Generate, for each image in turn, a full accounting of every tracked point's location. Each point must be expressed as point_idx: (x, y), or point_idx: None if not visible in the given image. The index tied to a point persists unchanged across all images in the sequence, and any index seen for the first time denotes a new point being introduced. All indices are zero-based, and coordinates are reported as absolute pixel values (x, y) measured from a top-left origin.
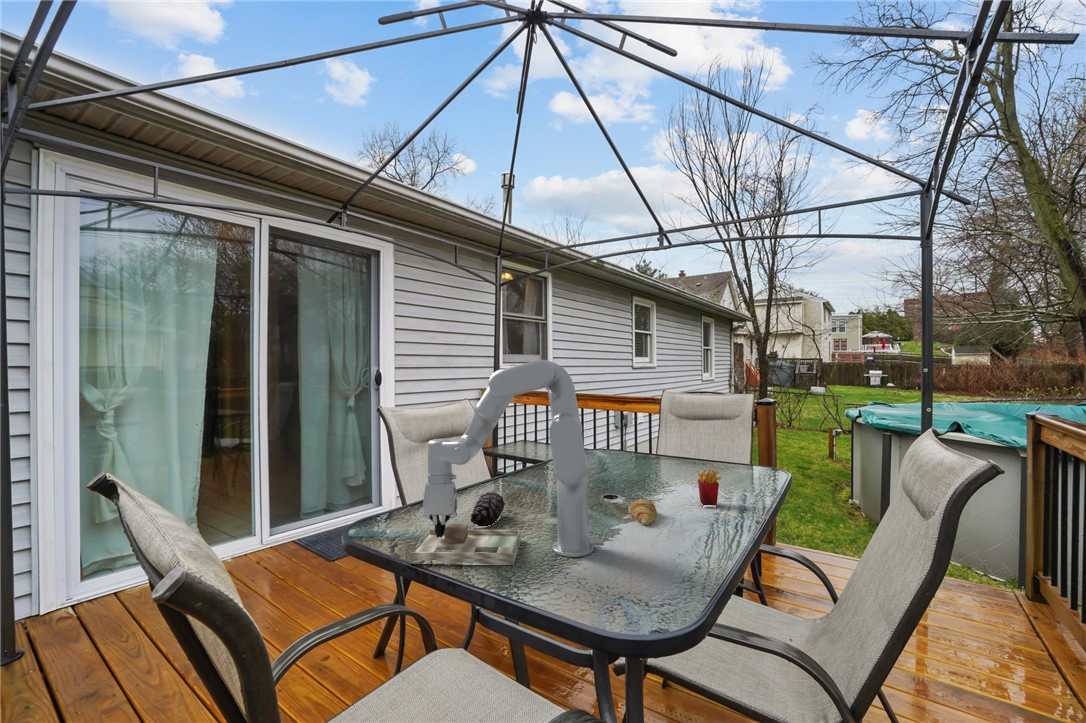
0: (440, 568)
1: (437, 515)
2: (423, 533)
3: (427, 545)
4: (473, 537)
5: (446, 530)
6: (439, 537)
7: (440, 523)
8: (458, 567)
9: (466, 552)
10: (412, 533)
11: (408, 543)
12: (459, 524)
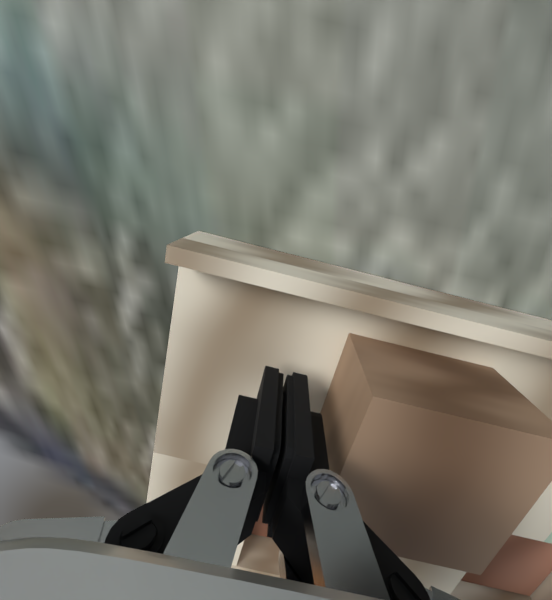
0: None
1: (216, 559)
2: (111, 44)
3: (200, 452)
4: (529, 396)
5: None
6: (269, 340)
7: (274, 528)
8: None
9: (424, 574)
10: (6, 20)
11: (56, 266)
12: (485, 435)
